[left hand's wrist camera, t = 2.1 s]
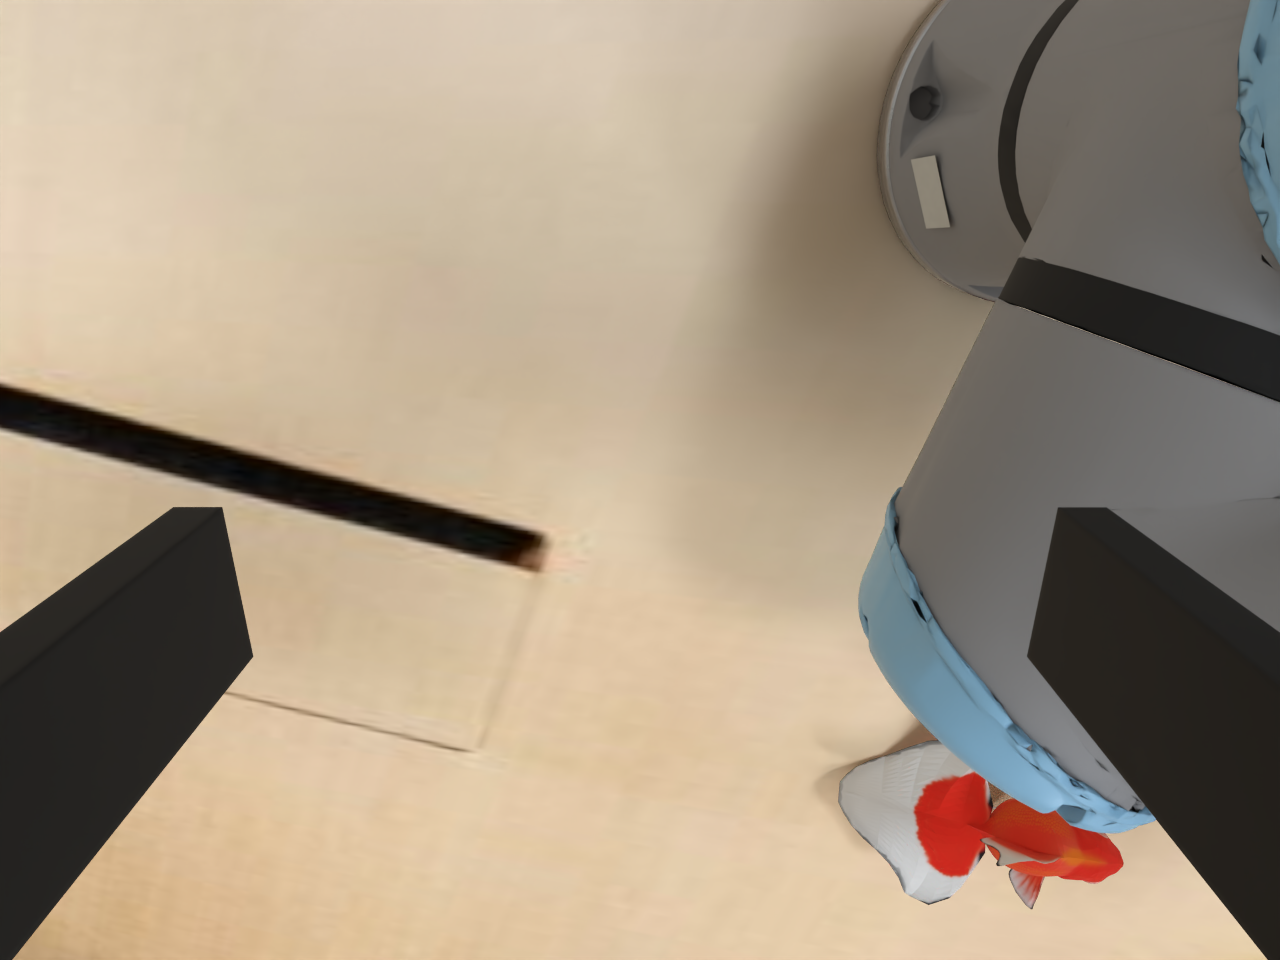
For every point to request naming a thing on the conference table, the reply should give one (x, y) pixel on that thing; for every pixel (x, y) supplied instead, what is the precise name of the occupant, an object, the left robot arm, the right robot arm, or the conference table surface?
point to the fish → (962, 827)
